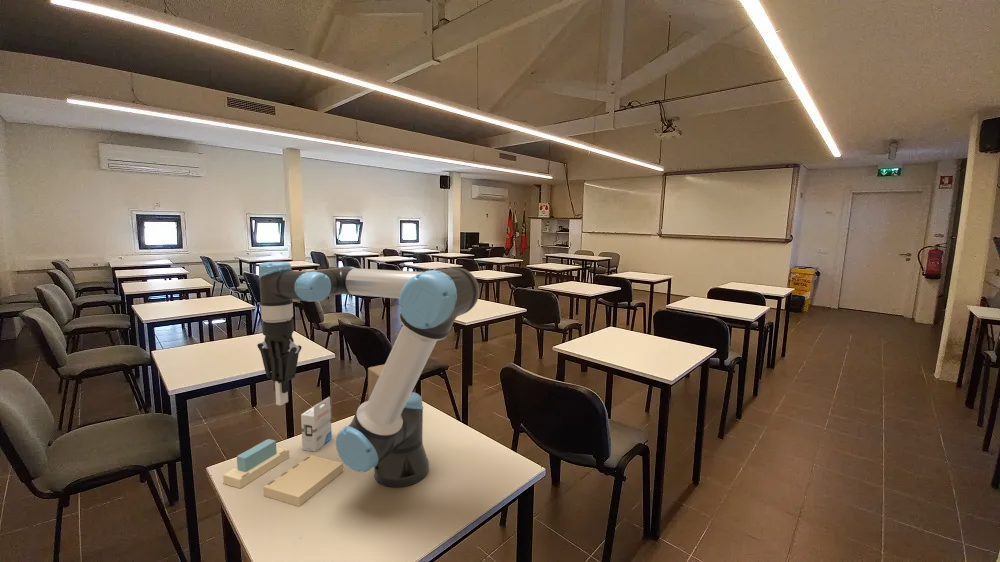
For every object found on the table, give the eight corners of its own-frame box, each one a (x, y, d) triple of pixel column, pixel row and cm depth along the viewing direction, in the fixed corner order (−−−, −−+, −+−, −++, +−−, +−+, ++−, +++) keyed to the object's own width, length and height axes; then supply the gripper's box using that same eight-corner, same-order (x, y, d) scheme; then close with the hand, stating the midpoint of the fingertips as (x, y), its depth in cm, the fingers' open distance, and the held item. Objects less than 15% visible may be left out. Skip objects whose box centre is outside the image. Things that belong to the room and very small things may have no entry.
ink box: (318, 436, 135) (317, 394, 133) (332, 438, 134) (331, 395, 133) (301, 450, 127) (299, 404, 125) (315, 452, 126) (314, 406, 124)
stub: (289, 457, 123) (288, 436, 122) (240, 488, 108) (238, 465, 107) (273, 453, 125) (272, 433, 124) (223, 483, 110) (222, 460, 109)
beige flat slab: (343, 471, 117) (342, 462, 116) (298, 506, 102) (298, 496, 101) (310, 462, 120) (310, 454, 120) (263, 495, 105) (263, 486, 105)
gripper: (307, 318, 112) (311, 401, 115) (270, 314, 116) (274, 394, 118) (286, 324, 105) (290, 412, 107) (246, 320, 108) (252, 405, 111)
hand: (282, 403), depth 113 cm, fingers closed
